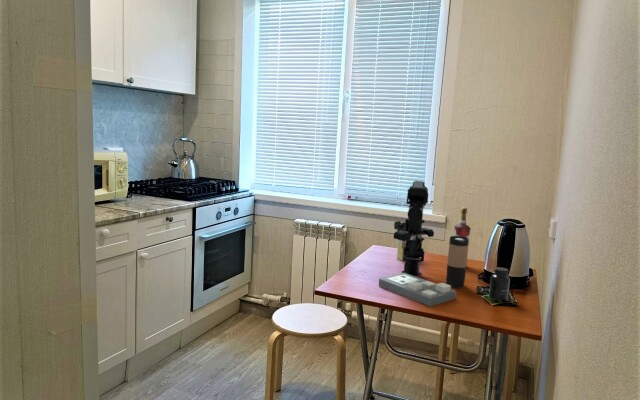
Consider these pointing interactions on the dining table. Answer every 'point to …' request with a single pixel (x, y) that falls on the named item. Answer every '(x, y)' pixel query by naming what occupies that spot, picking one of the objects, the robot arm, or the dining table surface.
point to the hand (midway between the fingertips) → (412, 254)
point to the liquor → (462, 226)
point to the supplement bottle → (499, 284)
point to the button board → (400, 286)
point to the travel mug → (457, 261)
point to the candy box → (400, 249)
